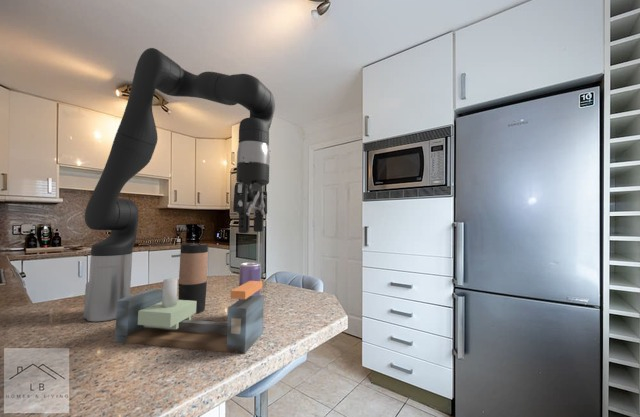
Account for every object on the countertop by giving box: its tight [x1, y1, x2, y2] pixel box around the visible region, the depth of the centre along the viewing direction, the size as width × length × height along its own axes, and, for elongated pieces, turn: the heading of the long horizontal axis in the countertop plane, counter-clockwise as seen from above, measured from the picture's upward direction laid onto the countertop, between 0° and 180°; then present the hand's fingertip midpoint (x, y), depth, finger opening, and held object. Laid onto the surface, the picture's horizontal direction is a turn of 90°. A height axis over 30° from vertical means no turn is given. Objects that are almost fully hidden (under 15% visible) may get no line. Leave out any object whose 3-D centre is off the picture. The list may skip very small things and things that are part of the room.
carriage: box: [138, 278, 197, 329], centre depth 61 cm, size 8×9×10 cm
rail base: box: [114, 288, 265, 354], centre depth 59 cm, size 30×10×9 cm, turn 82°
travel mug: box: [178, 242, 209, 315], centre depth 77 cm, size 8×8×20 cm
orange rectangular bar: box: [230, 280, 263, 300], centre depth 58 cm, size 3×10×2 cm, turn 172°
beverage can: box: [238, 262, 262, 301], centre depth 72 cm, size 6×6×15 cm
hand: (251, 232), depth 60 cm, fingers open, 8 cm apart
